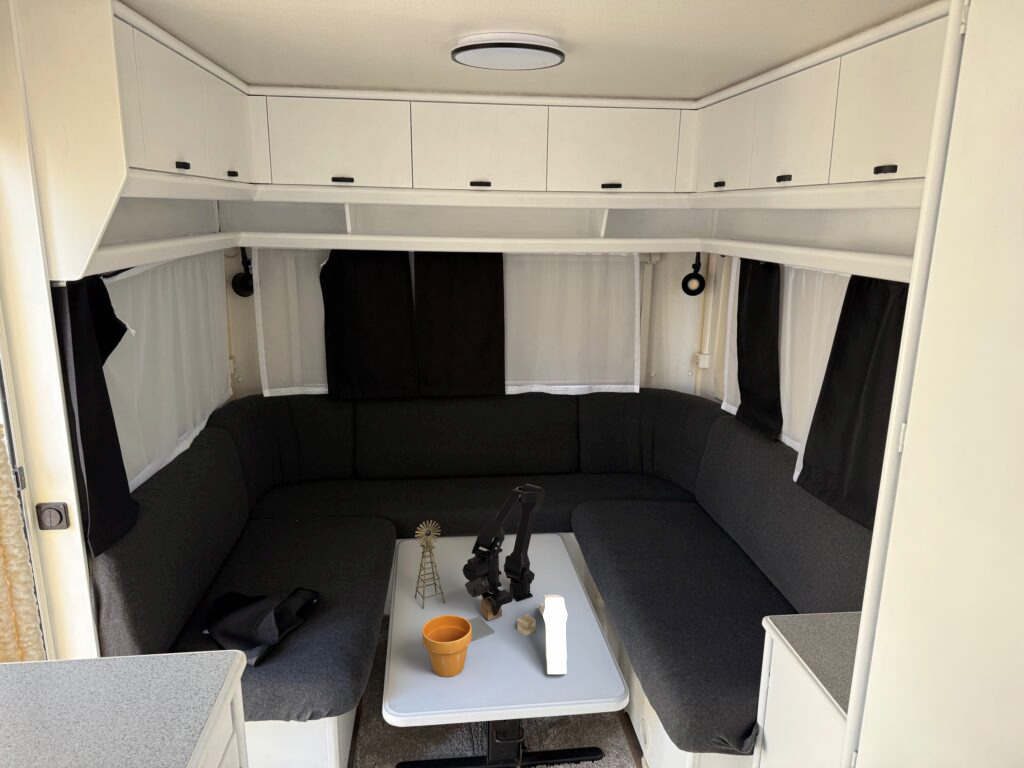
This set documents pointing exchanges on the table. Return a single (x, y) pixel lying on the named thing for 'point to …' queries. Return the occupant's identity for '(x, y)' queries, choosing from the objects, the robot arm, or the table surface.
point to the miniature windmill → (429, 547)
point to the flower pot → (447, 643)
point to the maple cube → (526, 625)
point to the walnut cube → (488, 609)
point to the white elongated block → (555, 633)
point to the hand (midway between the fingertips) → (491, 611)
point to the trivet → (479, 628)
